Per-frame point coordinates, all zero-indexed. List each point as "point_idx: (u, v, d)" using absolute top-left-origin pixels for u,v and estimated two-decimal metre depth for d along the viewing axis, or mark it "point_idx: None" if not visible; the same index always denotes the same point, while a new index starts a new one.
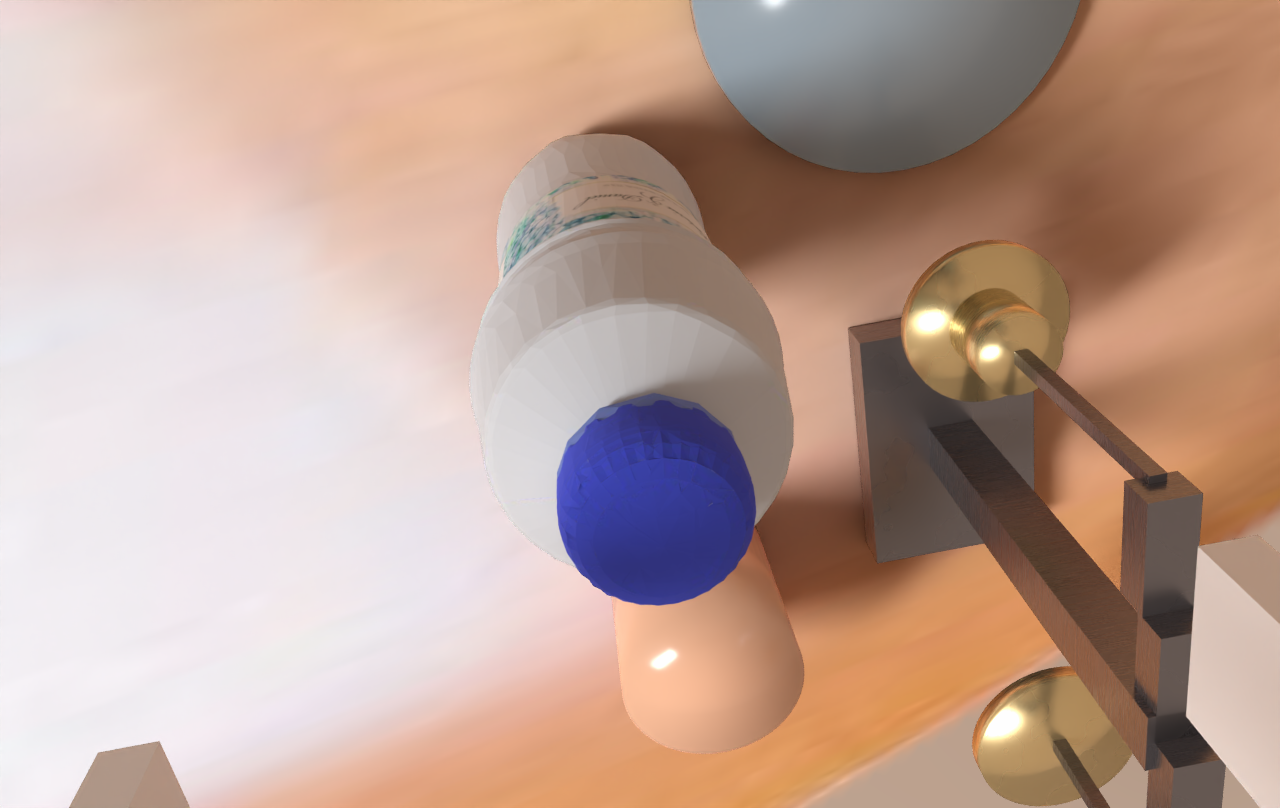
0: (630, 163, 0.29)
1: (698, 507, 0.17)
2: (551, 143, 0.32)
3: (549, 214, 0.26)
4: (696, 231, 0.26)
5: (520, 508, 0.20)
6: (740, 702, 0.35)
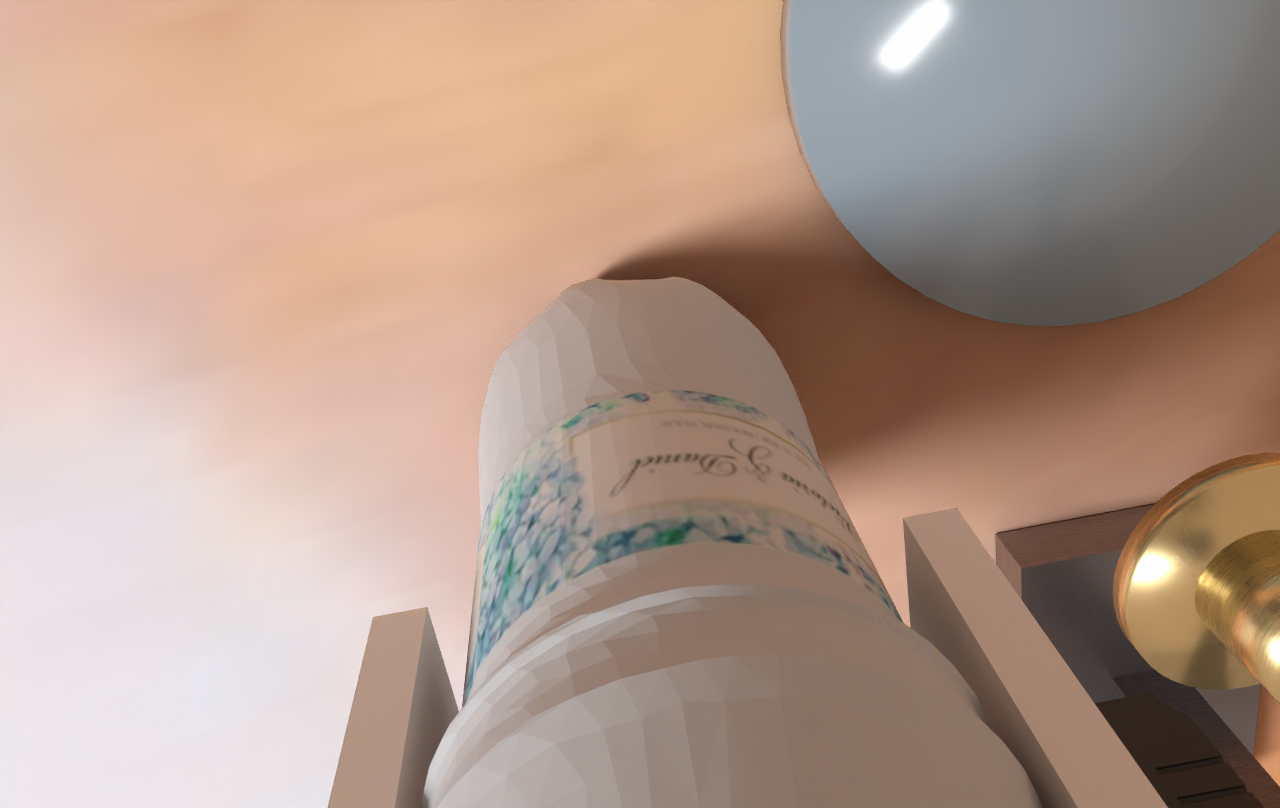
0: (699, 352, 0.17)
1: None
2: (565, 293, 0.21)
3: (565, 492, 0.14)
4: (838, 528, 0.14)
5: None
6: None
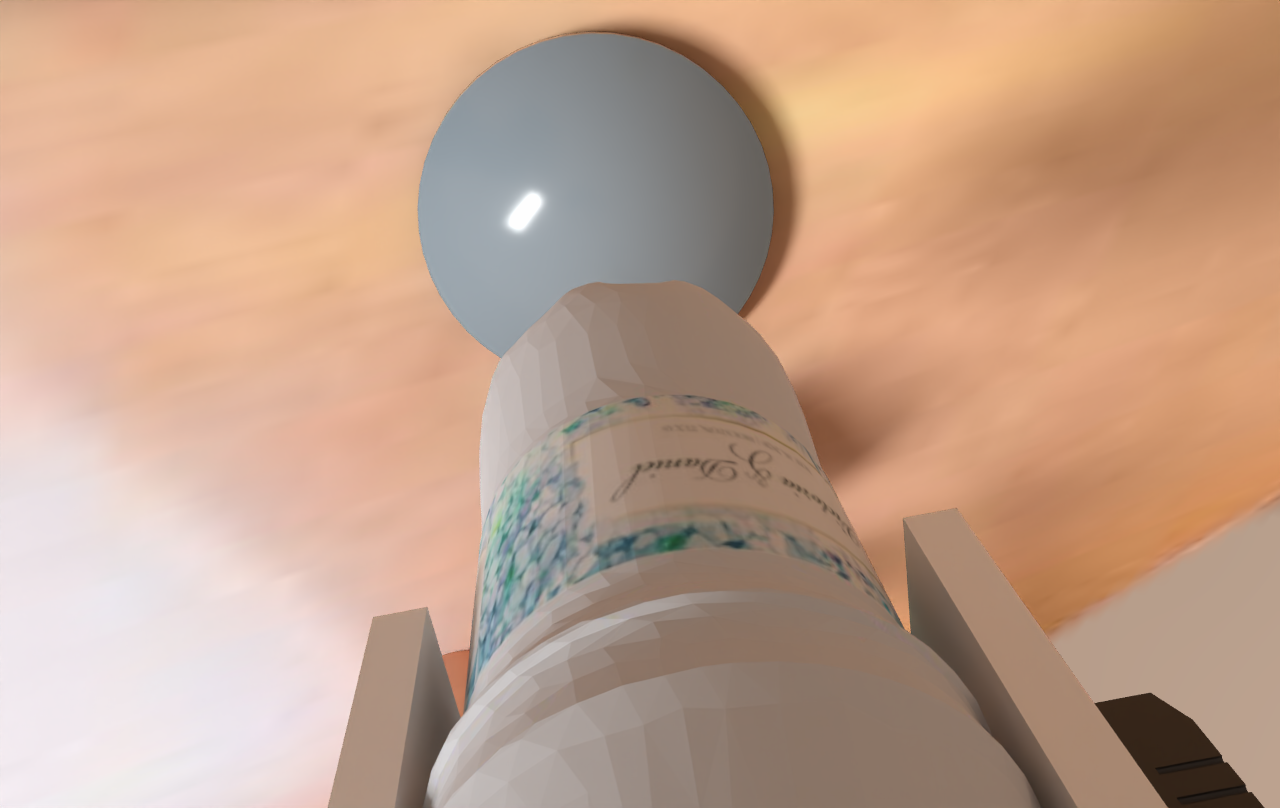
0: (699, 355, 0.18)
1: None
2: (566, 297, 0.21)
3: (566, 497, 0.14)
4: (838, 533, 0.14)
5: None
6: None
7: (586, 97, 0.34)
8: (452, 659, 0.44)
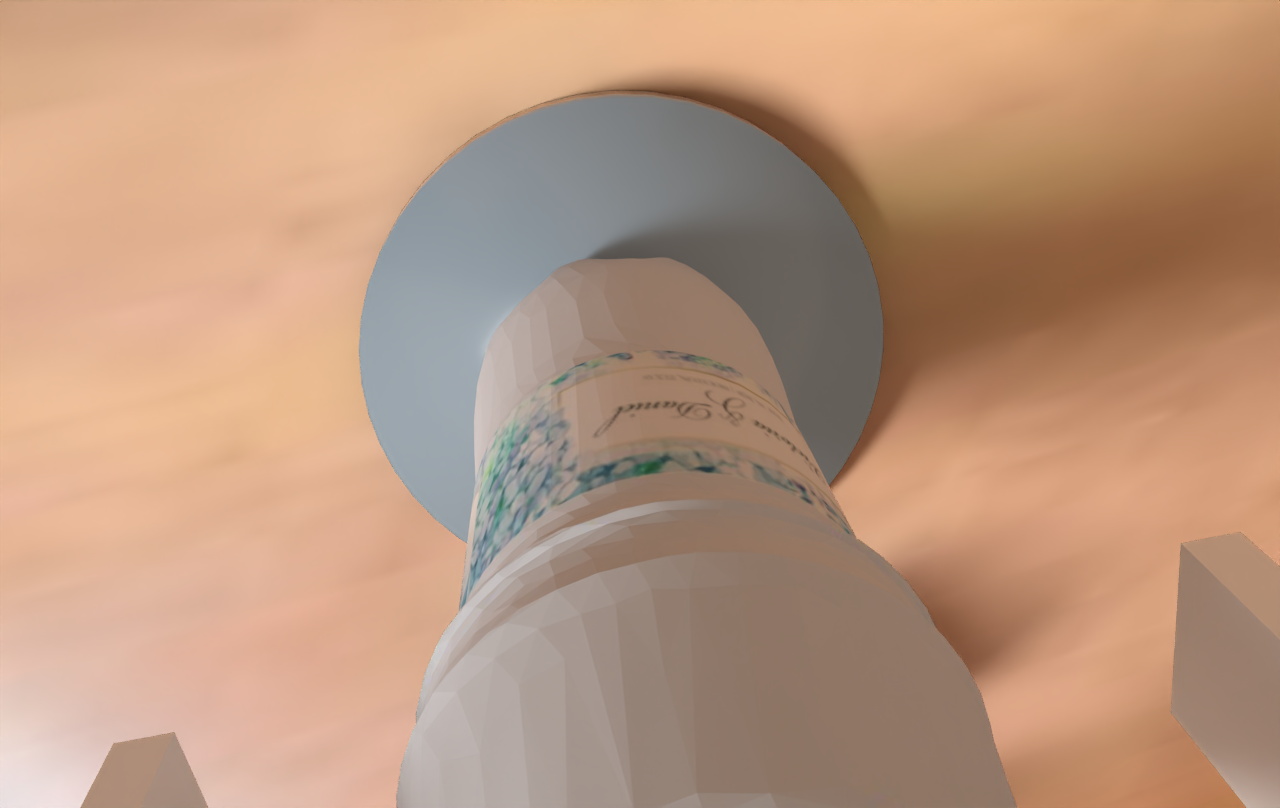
0: (680, 319, 0.19)
1: None
2: (556, 271, 0.22)
3: (552, 436, 0.15)
4: (805, 469, 0.15)
5: None
6: None
7: (611, 190, 0.23)
8: None
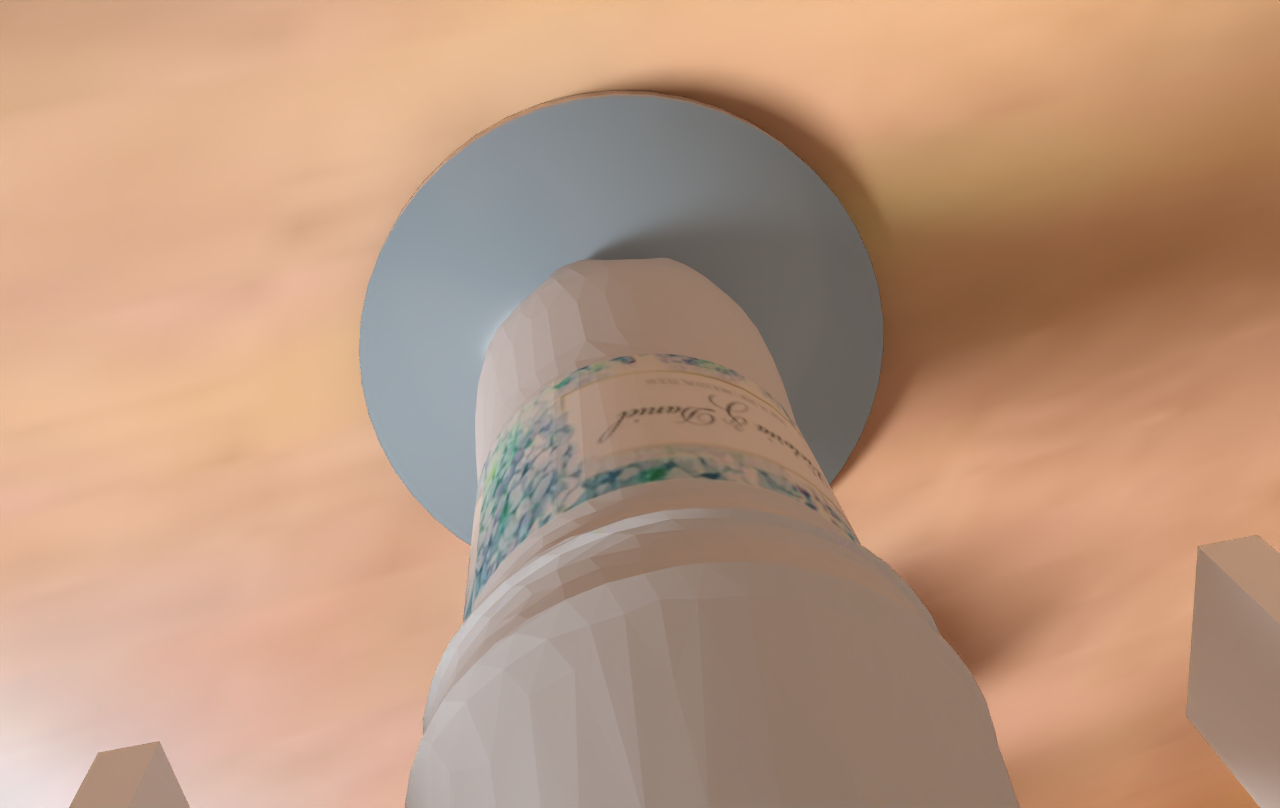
0: (682, 321, 0.19)
1: None
2: (557, 272, 0.22)
3: (556, 441, 0.15)
4: (808, 473, 0.15)
5: None
6: None
7: (611, 190, 0.23)
8: None
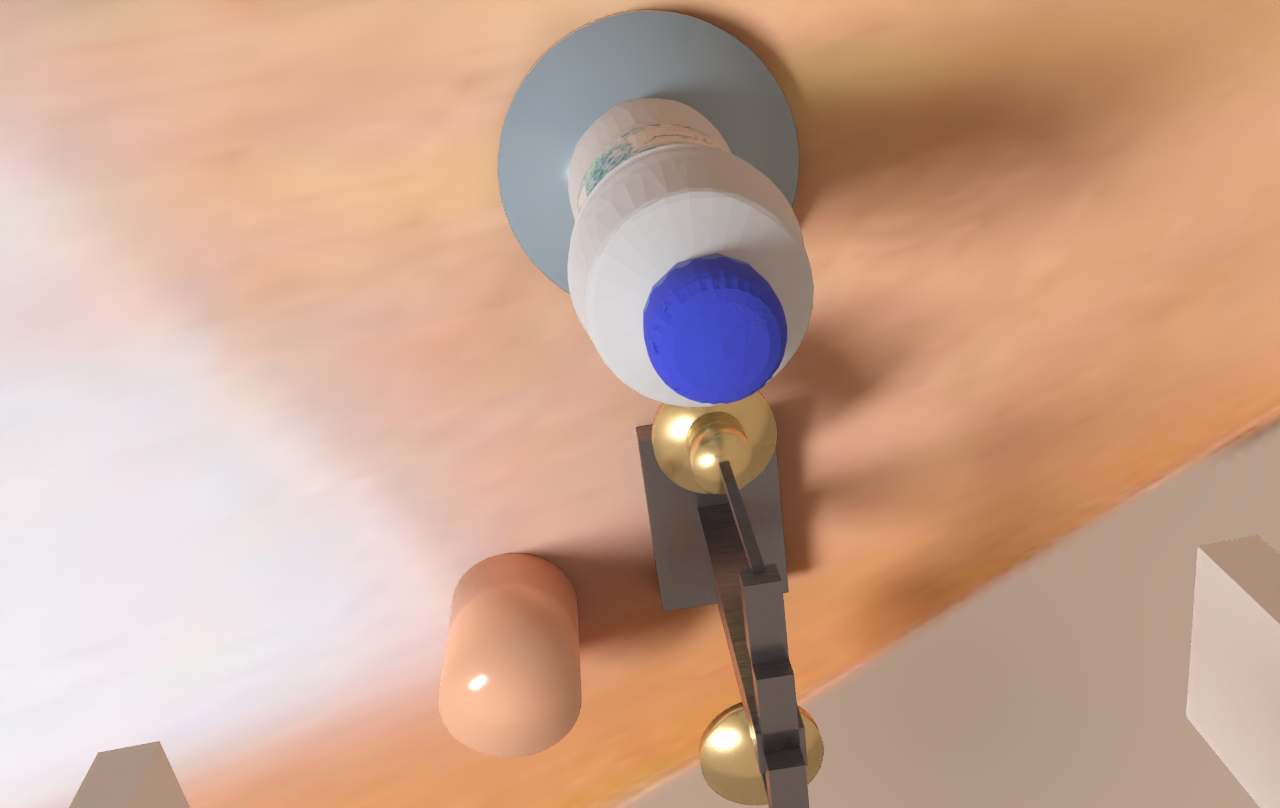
0: (683, 118, 0.37)
1: (748, 324, 0.24)
2: (615, 105, 0.40)
3: (624, 148, 0.33)
4: None
5: (610, 344, 0.27)
6: (532, 717, 0.46)
7: (646, 64, 0.41)
8: (500, 559, 0.50)
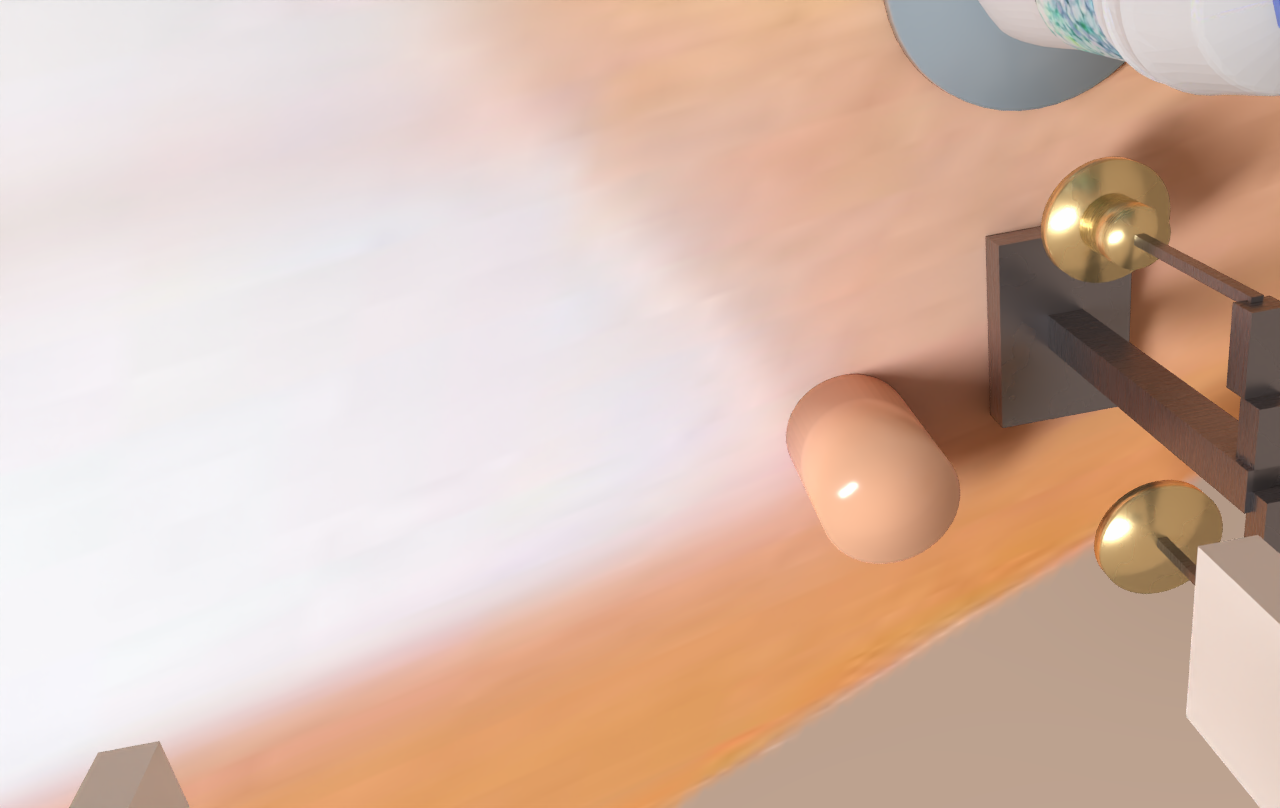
0: None
1: None
2: None
3: None
4: None
5: (1217, 21, 0.27)
6: (909, 520, 0.46)
7: None
8: (842, 379, 0.50)
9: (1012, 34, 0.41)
